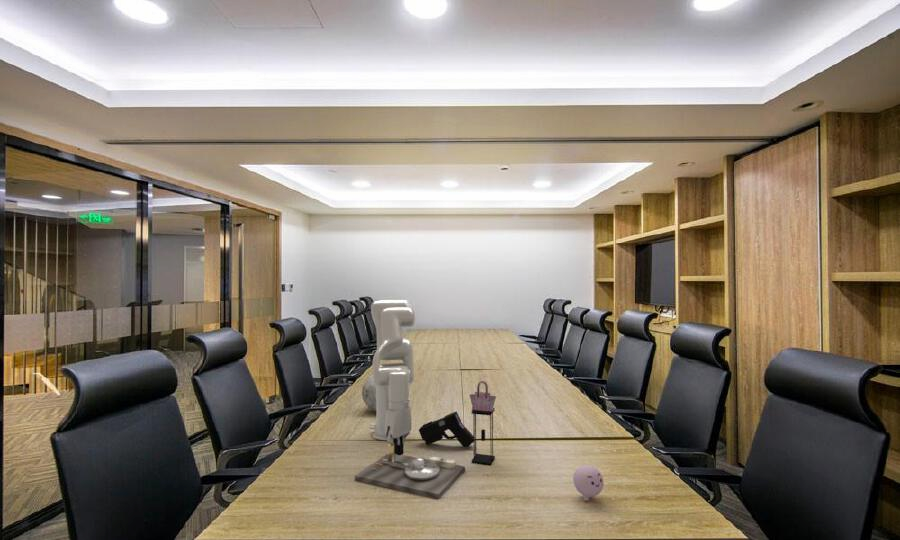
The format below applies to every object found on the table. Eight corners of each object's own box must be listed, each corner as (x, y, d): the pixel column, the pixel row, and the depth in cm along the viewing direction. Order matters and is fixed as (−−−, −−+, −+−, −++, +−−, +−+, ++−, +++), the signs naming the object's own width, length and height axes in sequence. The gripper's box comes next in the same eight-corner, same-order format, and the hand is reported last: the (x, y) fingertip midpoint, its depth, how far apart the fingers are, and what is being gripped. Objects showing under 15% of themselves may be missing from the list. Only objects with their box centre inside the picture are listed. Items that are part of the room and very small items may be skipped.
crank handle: (445, 469, 152) (445, 448, 152) (427, 483, 142) (427, 461, 142) (392, 456, 163) (392, 437, 164) (372, 468, 153) (372, 448, 153)
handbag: (498, 458, 166) (498, 379, 166) (494, 466, 159) (493, 384, 159) (472, 454, 169) (472, 378, 170) (467, 462, 162) (466, 382, 163)
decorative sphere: (381, 403, 241) (380, 367, 242) (407, 409, 230) (407, 371, 230) (354, 412, 225) (354, 373, 226) (381, 419, 214) (381, 378, 214)
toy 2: (587, 508, 129) (586, 474, 129) (567, 495, 137) (567, 463, 137) (609, 502, 132) (609, 469, 133) (589, 489, 141) (589, 458, 141)
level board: (354, 480, 148) (354, 468, 148) (389, 456, 168) (389, 446, 168) (438, 498, 135) (438, 486, 135) (465, 470, 155) (464, 459, 155)
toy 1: (475, 445, 174) (459, 410, 176) (432, 463, 177) (417, 429, 179) (477, 440, 179) (462, 407, 181) (435, 458, 182) (420, 424, 184)
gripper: (405, 398, 168) (405, 445, 168) (376, 407, 156) (376, 458, 156) (419, 401, 163) (420, 450, 163) (391, 411, 152) (391, 463, 151)
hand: (398, 453), depth 160 cm, fingers closed
